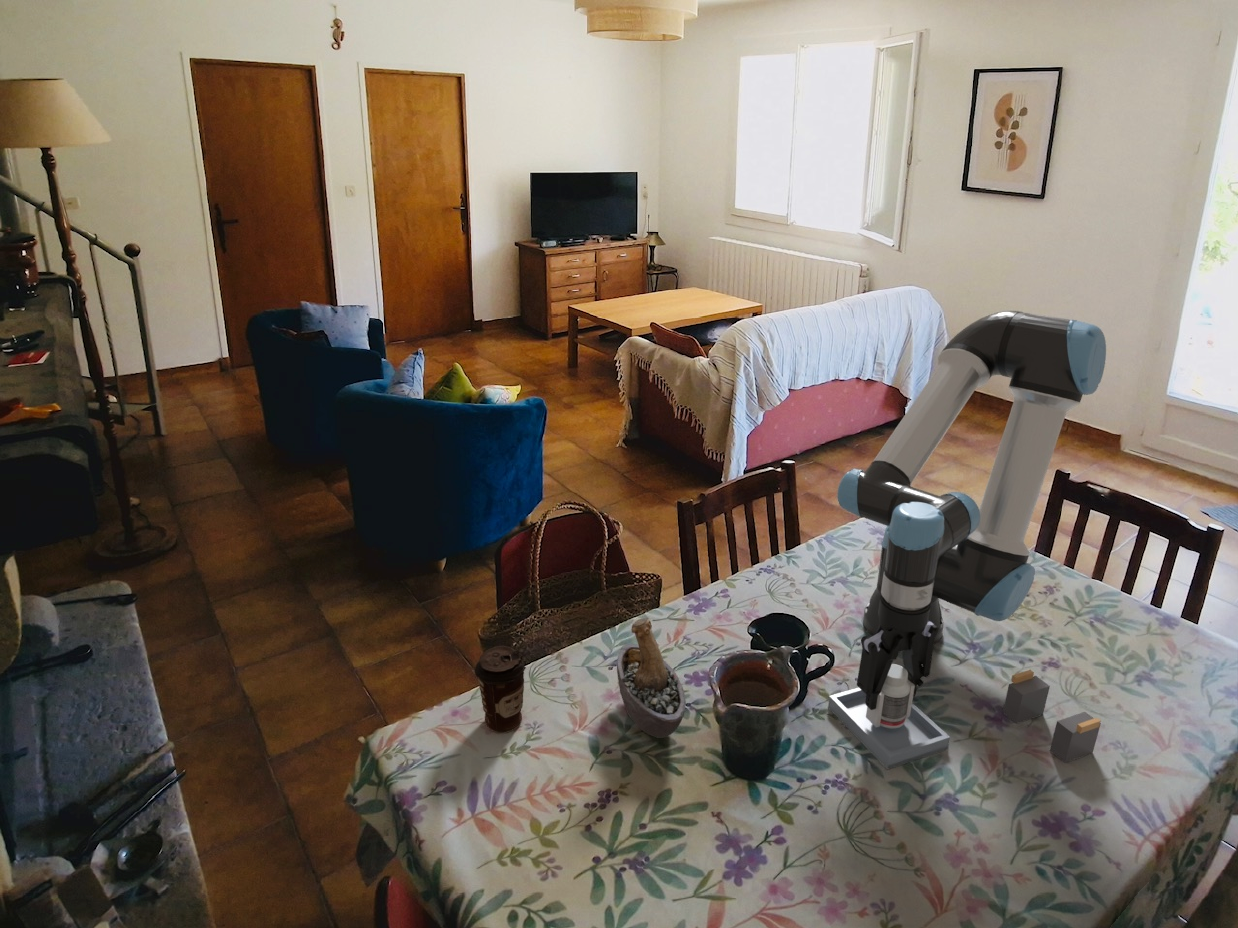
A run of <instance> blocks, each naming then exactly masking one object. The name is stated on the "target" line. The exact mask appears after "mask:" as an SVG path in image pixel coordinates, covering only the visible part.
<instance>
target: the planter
mask: <svg viewBox="0 0 1238 928" xmlns="http://www.w3.org/2000/svg"><path fill="white" fill-rule="evenodd" d="M631 633H633V634H634V636H635V638H636V642H637V644H636V643H631V642H628V643H625V644H624V645H622V646H621V648H620V649H619V652H618V655H617V660H616V673H617V681H618V686H619V687H618V688H619V693H620V697H621V699H622V702H623V705H624V707H625V710H626V712H627V714H628V716H629V718H630V719H631V720H632V722H633V723H634V724H635V725H636V726H637V727H638V728H639V729H640V730H641V731H643V732H644V733H646V734H648V735H649V736H652V737H653V738H659V739H660V738H661V739H663V738H667V737H669V736H670V735H672V734H673V733H674V732H675V731H676V730H677V729H678V727H679V726H680V724H681V723H682V720H683V718H684V715H685V712H686V703H687V700H686V696H685V691H684V688H683V685H682V682H681V680H680V678H679V676H678V675H677V673H676V671H675V670H674V669H673V668H672V667H671V665H670V664H668V663H667V662H666V660H664V659H663V655H662V653H661V649H660V647H659V644H658V642H657V640H656V637H655V635H654V634H653V631H652V623H651V620H650V619H647V618H640V619H637V620H635V621H634V622H633V623H632V625H631Z"/></svg>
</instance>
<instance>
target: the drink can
mask: <svg viewBox="0 0 1238 928" xmlns="http://www.w3.org/2000/svg"><path fill="white" fill-rule="evenodd" d="M523 657H524V655H523V654H522V653H521V652H520V651H519V650H517V649H515V648H512V647H510V646H506V645H497V646H494V647H491V648H488V649H487V650H485V651H484V652H483V653H482V654H481V655H480V657H479V660H478V662H477V663H476V665H475V668H474V676H475V677H476V678H477V680H478V684H479V685H478V686H479V691H480V698H481V704H482V710H483V711H484V713H485V714H484V722H485V725H486V727H487V728H488V729H489V730H490V731H492V732H494V733H496V734H497V733H498V734H503V733H510V732H512V731H514V730H515V729H517V728H518V727H519V726H520V725H521V723H522V720H523V717H522V716H523V713H522V709H523V706H524V704H523V703H524V693H525V692H524V690H525V678H524V676H525V670H526V669H527V667H526V666H525V662H524V660H523Z"/></svg>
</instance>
